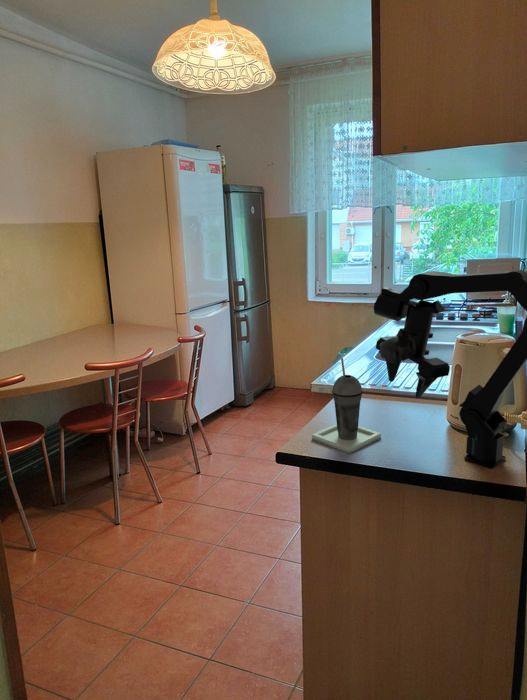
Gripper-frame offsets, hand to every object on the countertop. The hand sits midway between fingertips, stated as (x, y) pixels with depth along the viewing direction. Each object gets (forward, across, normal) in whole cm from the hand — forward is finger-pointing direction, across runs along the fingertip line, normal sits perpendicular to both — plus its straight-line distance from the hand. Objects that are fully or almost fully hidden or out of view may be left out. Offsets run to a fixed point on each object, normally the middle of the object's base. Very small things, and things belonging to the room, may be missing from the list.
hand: (404, 389), depth 124 cm
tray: (+14, -5, -10) cm, 18 cm away
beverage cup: (+14, -5, -10) cm, 18 cm away
